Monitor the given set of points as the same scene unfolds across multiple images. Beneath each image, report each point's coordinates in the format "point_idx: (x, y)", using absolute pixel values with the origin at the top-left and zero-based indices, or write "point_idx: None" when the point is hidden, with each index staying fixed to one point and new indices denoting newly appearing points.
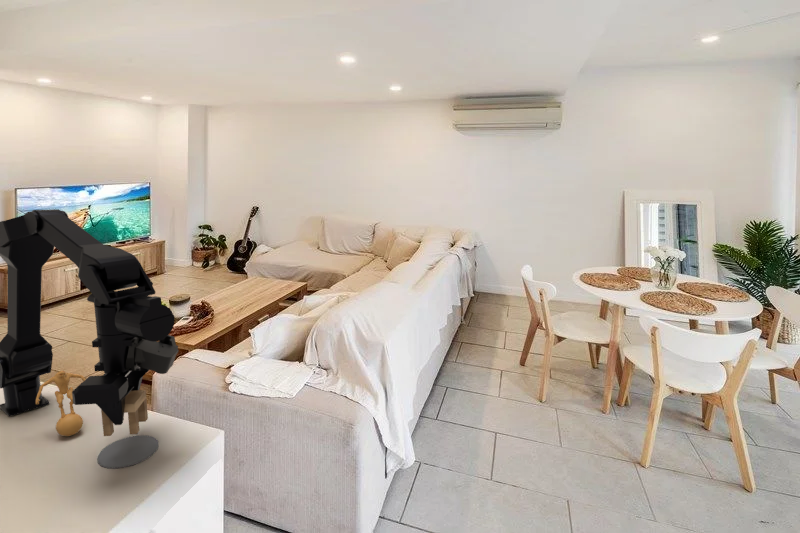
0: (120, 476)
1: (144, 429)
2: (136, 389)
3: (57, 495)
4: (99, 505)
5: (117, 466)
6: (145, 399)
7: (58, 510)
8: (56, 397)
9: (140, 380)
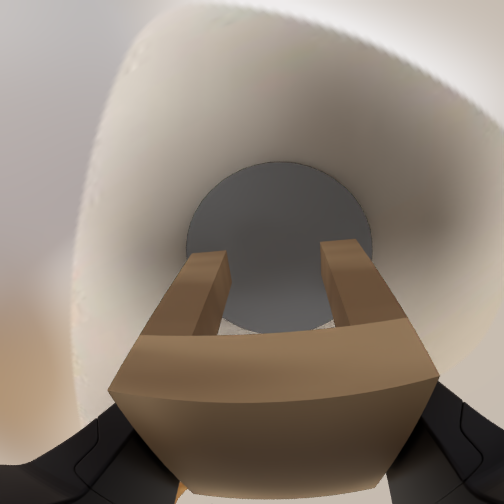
0: (409, 221)
1: (145, 267)
2: (134, 441)
3: (436, 327)
4: (493, 220)
5: (370, 251)
6: (161, 331)
7: (480, 296)
8: (179, 496)
9: (68, 470)
